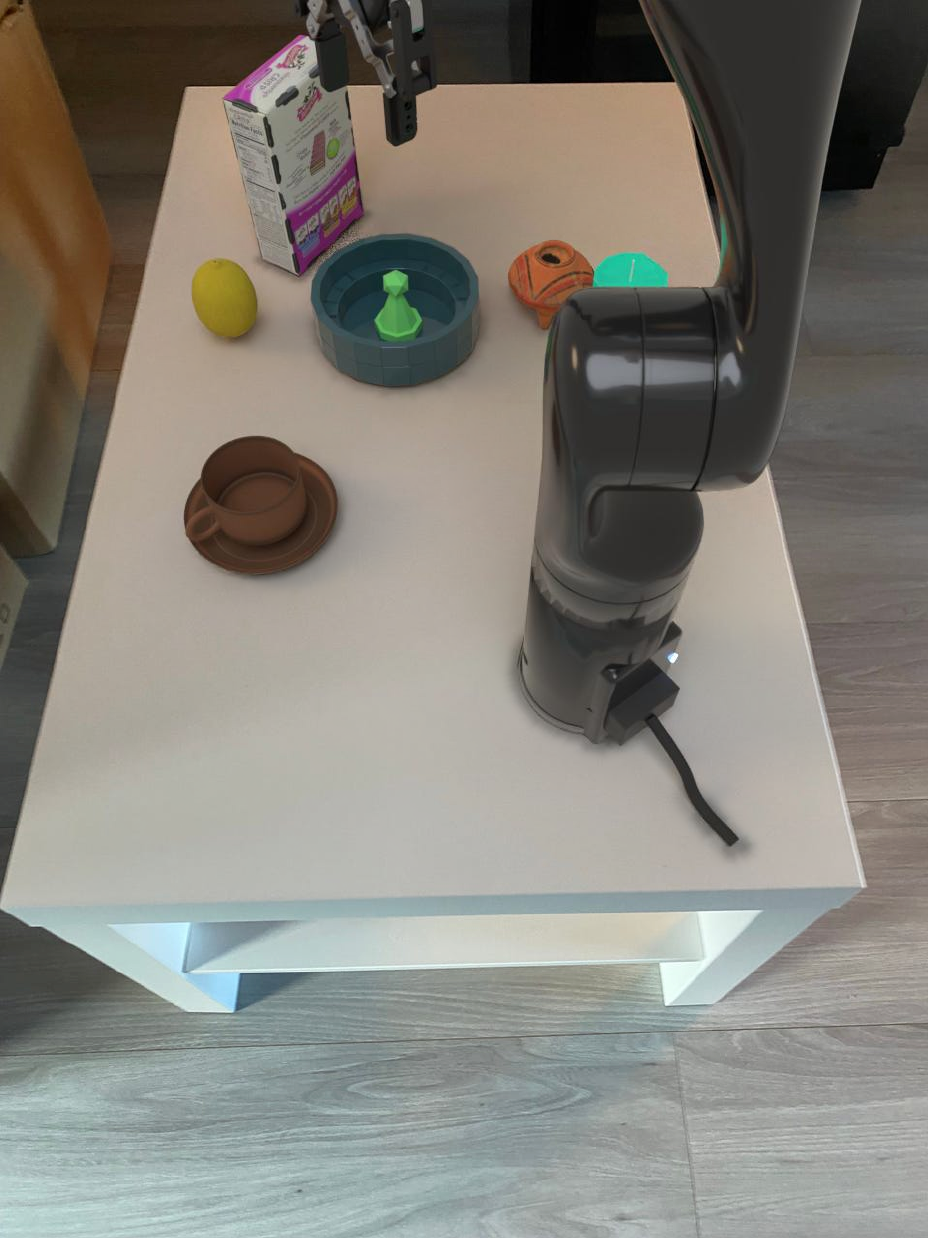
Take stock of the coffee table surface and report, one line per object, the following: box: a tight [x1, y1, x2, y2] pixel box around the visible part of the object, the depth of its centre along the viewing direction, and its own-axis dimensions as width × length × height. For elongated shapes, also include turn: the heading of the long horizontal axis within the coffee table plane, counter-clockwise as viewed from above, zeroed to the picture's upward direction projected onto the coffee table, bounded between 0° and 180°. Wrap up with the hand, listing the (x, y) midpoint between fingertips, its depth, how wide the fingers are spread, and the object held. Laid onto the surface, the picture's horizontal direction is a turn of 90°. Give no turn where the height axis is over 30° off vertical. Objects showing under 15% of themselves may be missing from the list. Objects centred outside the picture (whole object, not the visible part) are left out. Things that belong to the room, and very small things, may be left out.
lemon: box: [190, 257, 259, 338], centre depth 83 cm, size 6×6×8 cm
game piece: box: [375, 270, 423, 341], centre depth 84 cm, size 4×4×6 cm
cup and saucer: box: [183, 435, 339, 575], centre depth 73 cm, size 12×12×6 cm
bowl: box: [310, 232, 480, 387], centre depth 85 cm, size 15×15×5 cm
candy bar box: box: [221, 34, 365, 277], centre depth 87 cm, size 11×5×16 cm, turn 148°
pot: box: [507, 239, 595, 330], centre depth 86 cm, size 8×8×7 cm
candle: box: [592, 251, 669, 287], centre depth 79 cm, size 6×6×12 cm
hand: (368, 113), depth 70 cm, fingers open, 8 cm apart
